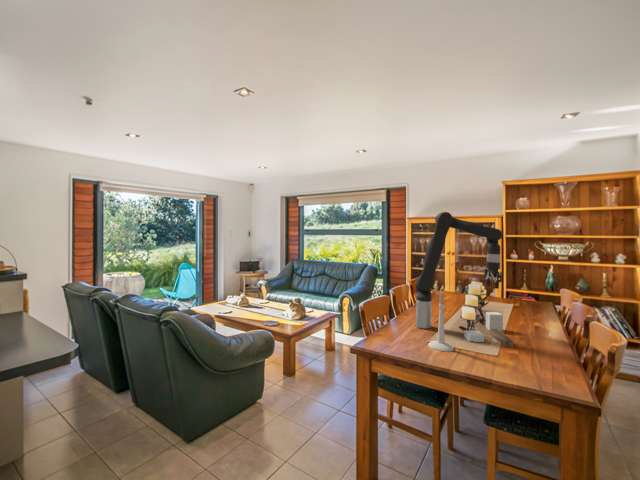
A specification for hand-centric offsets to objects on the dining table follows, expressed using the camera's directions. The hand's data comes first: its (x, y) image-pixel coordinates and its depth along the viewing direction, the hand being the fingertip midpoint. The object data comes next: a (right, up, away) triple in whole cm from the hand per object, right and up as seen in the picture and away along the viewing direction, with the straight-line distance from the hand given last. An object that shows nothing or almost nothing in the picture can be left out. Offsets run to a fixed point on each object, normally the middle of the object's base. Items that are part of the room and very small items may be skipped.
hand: (492, 287), depth 193 cm
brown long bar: (-4, -28, -17) cm, 33 cm away
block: (-19, -28, -15) cm, 37 cm away
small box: (+3, -27, +3) cm, 28 cm away
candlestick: (-42, -28, -27) cm, 58 cm away
